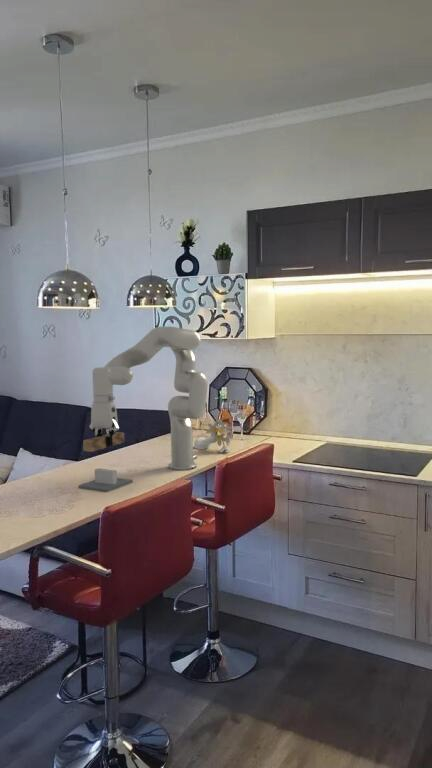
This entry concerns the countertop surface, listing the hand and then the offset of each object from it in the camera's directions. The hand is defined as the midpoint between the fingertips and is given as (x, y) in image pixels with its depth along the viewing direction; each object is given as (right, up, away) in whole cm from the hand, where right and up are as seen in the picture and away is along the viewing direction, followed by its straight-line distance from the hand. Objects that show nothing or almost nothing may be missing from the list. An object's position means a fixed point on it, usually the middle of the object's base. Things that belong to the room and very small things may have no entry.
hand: (104, 445), depth 231 cm
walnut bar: (0, -1, 0) cm, 1 cm away
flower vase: (+43, -11, +66) cm, 79 cm away
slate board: (0, -16, +1) cm, 16 cm away
